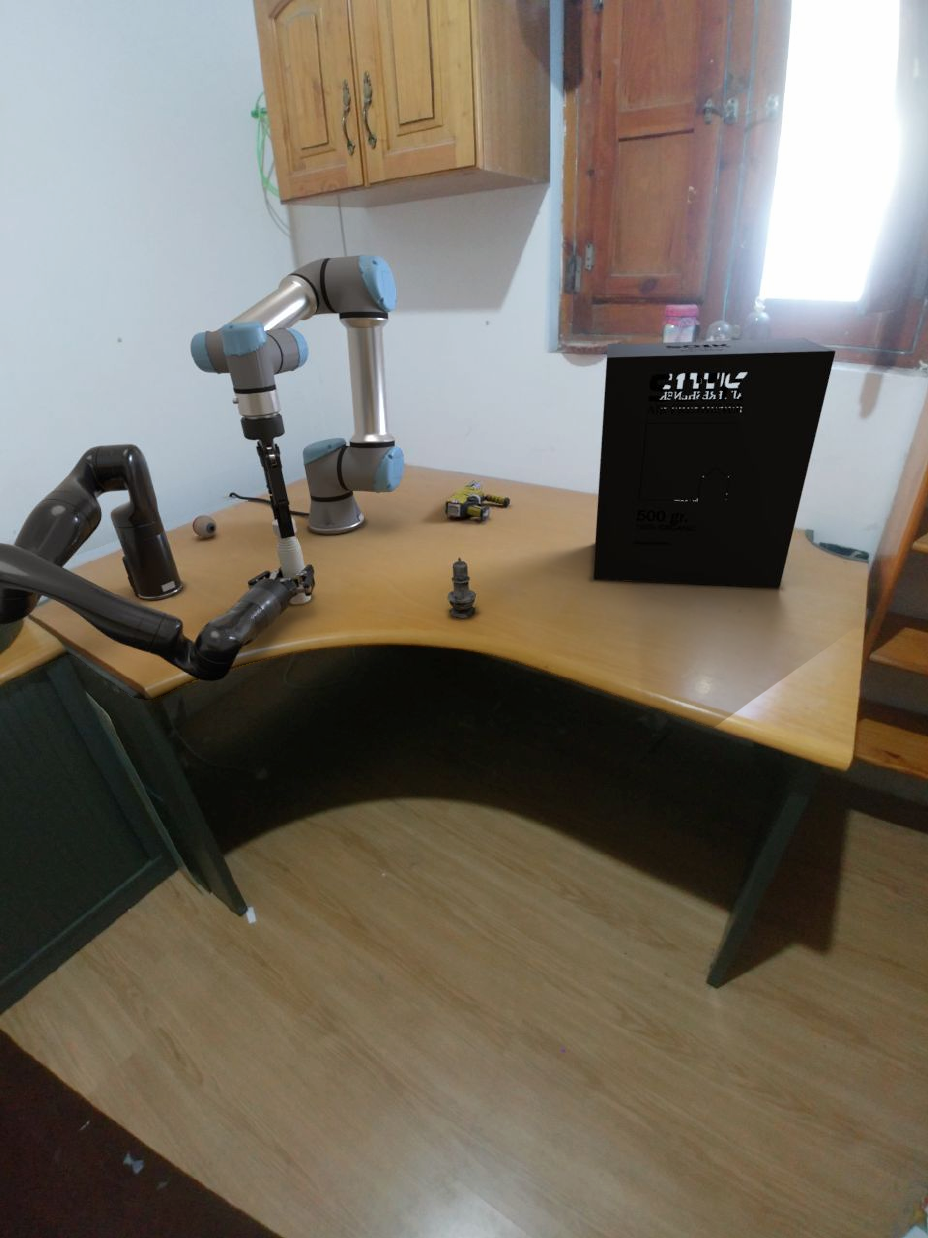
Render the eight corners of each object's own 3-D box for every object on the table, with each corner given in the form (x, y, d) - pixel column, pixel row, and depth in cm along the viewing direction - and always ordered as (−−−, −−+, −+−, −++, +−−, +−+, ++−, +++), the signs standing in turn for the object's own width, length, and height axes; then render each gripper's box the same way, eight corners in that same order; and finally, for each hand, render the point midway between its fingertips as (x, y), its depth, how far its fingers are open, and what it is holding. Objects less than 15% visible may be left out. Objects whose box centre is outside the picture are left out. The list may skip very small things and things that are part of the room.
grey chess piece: (474, 619, 120) (471, 564, 114) (445, 617, 121) (441, 563, 115) (479, 605, 124) (477, 551, 118) (451, 603, 126) (448, 550, 120)
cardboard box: (759, 548, 141) (803, 338, 119) (779, 587, 124) (835, 350, 102) (595, 543, 149) (607, 344, 126) (593, 579, 132) (607, 357, 109)
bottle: (310, 592, 134) (295, 518, 125) (311, 602, 130) (296, 526, 121) (288, 596, 133) (271, 522, 124) (289, 606, 129) (272, 530, 120)
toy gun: (518, 485, 181) (471, 478, 185) (495, 509, 161) (443, 500, 165) (516, 500, 184) (470, 493, 188) (494, 525, 164) (442, 517, 168)
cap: (300, 532, 123) (297, 521, 122) (278, 538, 121) (275, 527, 120) (292, 526, 126) (290, 515, 125) (271, 531, 124) (268, 521, 123)
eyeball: (206, 542, 163) (200, 521, 160) (191, 538, 166) (185, 518, 163) (224, 534, 167) (218, 514, 164) (209, 531, 170) (203, 510, 167)
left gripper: (233, 620, 119) (273, 581, 134) (299, 624, 117) (333, 584, 131) (223, 586, 116) (266, 550, 130) (292, 590, 113) (327, 552, 127)
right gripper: (235, 408, 119) (261, 519, 130) (244, 427, 103) (272, 551, 114) (274, 403, 121) (296, 513, 133) (288, 421, 105) (312, 543, 117)
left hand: (299, 567), depth 130 cm, fingers closed on bottle, 4 cm apart
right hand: (285, 530), depth 123 cm, fingers open, 7 cm apart
